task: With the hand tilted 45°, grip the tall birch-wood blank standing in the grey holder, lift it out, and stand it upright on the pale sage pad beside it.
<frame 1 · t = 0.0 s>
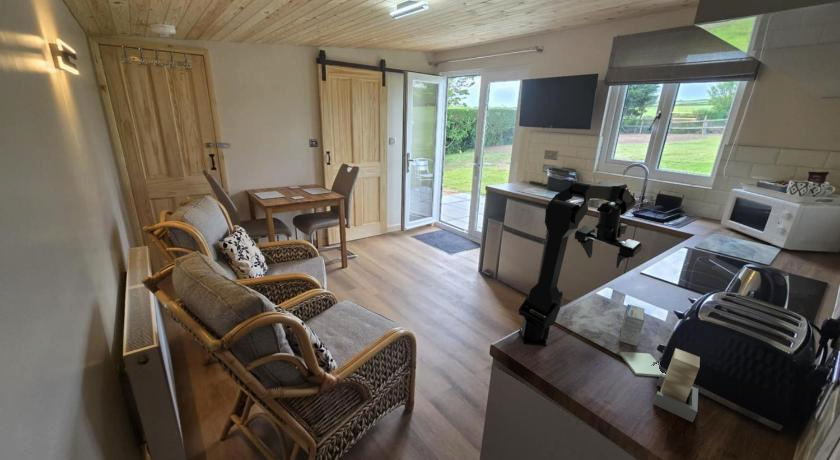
hand: (603, 262, 112), 15 cm above the countertop, tool pointing down, fingers open, 9 cm apart
grey holder: (670, 400, 78), on the countertop
medicine box: (628, 337, 100), on the countertop
sage pad: (642, 364, 89), on the countertop
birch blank: (678, 379, 76), in the grey holder
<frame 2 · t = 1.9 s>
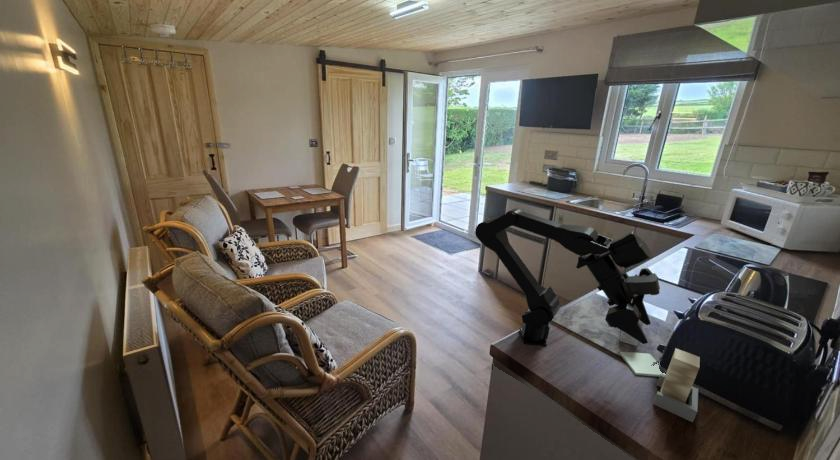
hand: (647, 333, 79), 14 cm above the countertop, tool tilted 45°, fingers open, 9 cm apart
nothing on the countertop moved.
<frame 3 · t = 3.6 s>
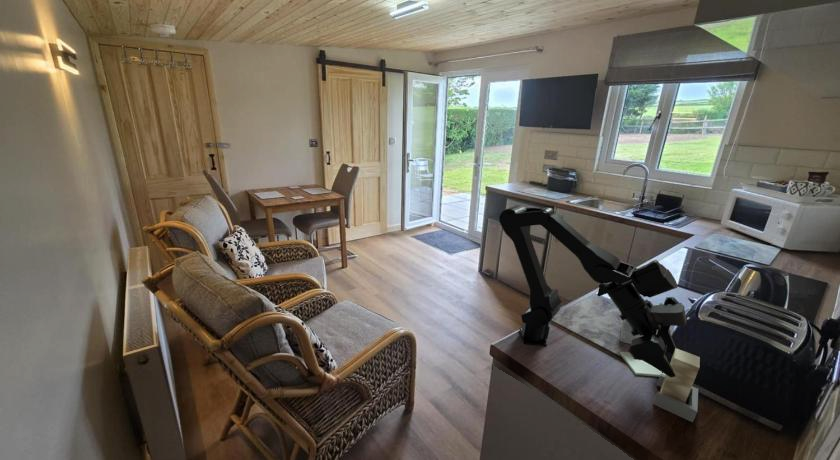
hand: (674, 365, 76), 9 cm above the countertop, tool tilted 45°, fingers open, 9 cm apart
nothing on the countertop moved.
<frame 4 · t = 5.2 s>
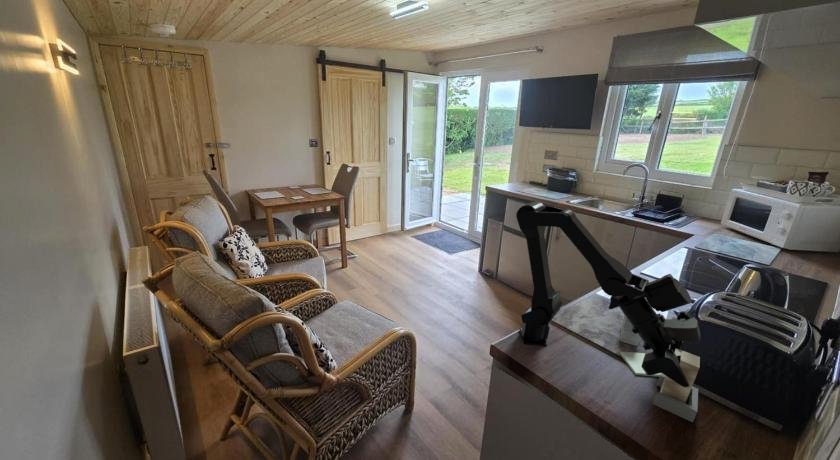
hand: (687, 380, 75), 7 cm above the countertop, tool tilted 45°, fingers closed on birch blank, 4 cm apart
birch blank: (678, 379, 76), in the grey holder, touching gripper
everything else where it was.
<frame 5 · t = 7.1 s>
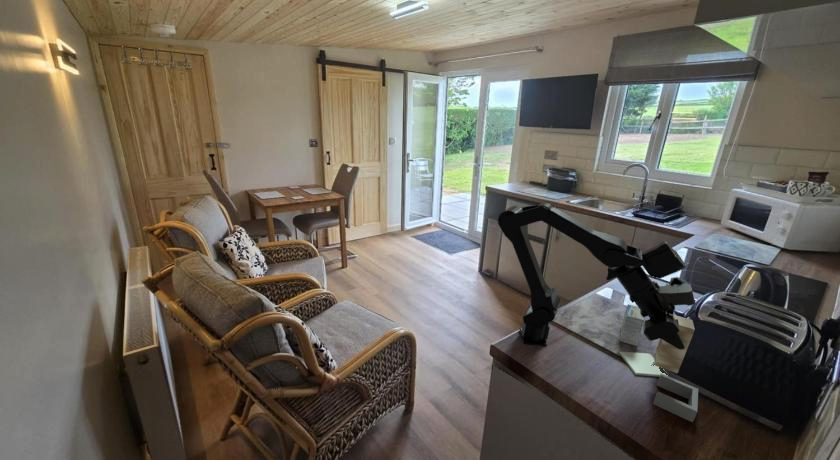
hand: (681, 343, 78), 12 cm above the countertop, tool tilted 45°, fingers closed on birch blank, 4 cm apart
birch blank: (673, 343, 79), point 12 cm above the countertop, touching gripper
everything else where it was.
when the fingers open (8 cm above the countertop, at t = 9.0 s): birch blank stays where it is, resting on sage pad.
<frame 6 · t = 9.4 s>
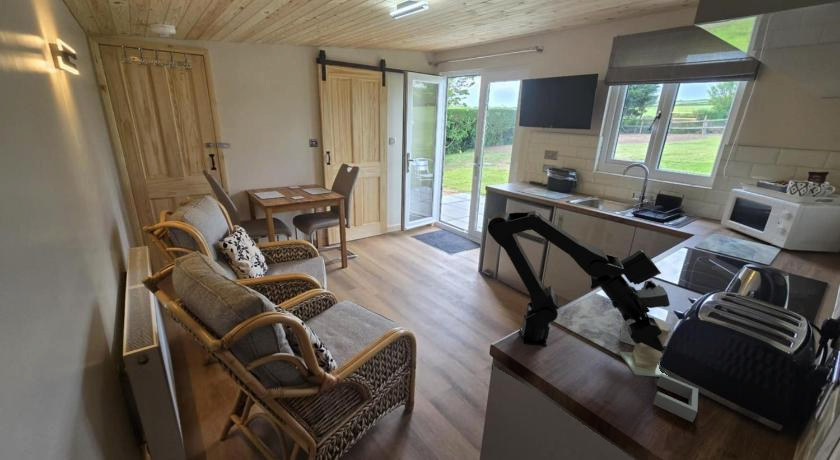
hand: (657, 340, 86), 8 cm above the countertop, tool tilted 45°, fingers open, 8 cm apart
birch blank: (649, 343, 87), on the sage pad, point 7 cm above the countertop
everything else where it was.
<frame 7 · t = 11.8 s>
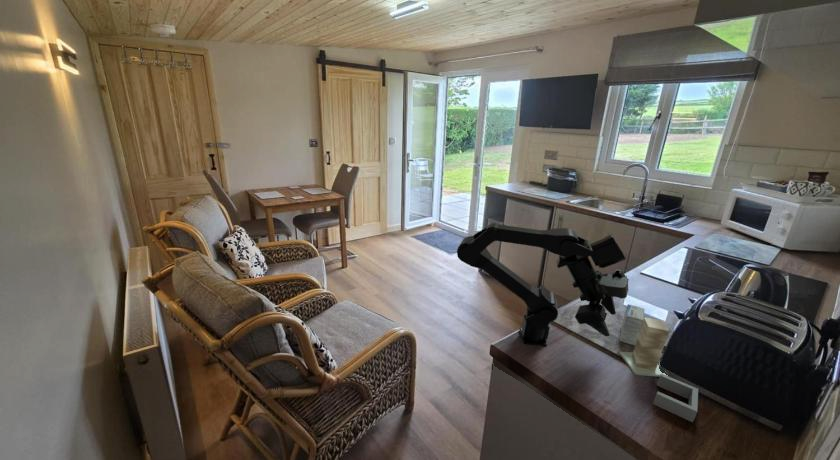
hand: (610, 324, 89), 9 cm above the countertop, tool tilted 35°, fingers open, 9 cm apart
nothing on the countertop moved.
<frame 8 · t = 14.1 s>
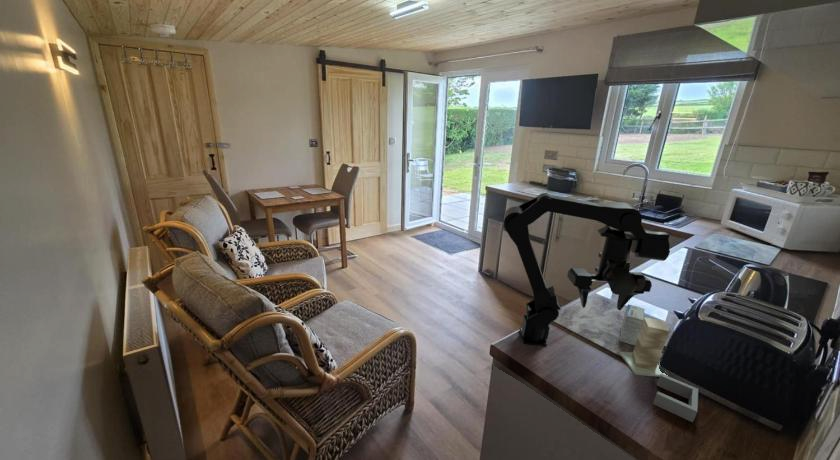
hand: (600, 308, 90), 13 cm above the countertop, tool pointing down, fingers open, 9 cm apart
nothing on the countertop moved.
at the end: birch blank 0.0 cm off-centre on the sage pad, point 6.6 cm above the sage pad's base; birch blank tilted 0°; the gripper is holding nothing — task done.
